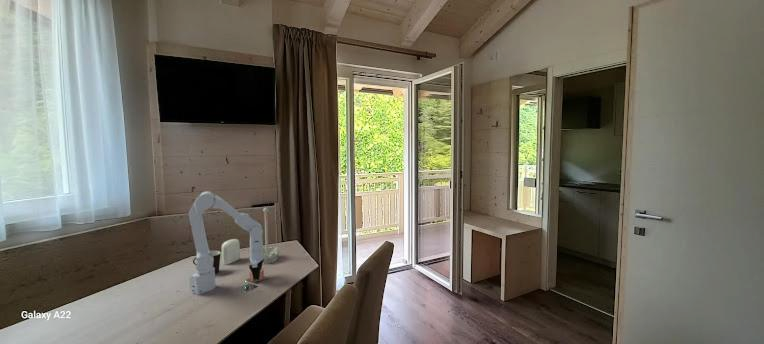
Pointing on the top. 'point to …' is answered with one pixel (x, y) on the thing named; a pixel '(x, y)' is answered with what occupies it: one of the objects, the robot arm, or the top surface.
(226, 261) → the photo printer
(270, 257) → the flag stand
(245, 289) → the stand
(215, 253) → the coffee mug
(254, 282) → the square peg base
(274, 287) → the top surface
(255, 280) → the ring
